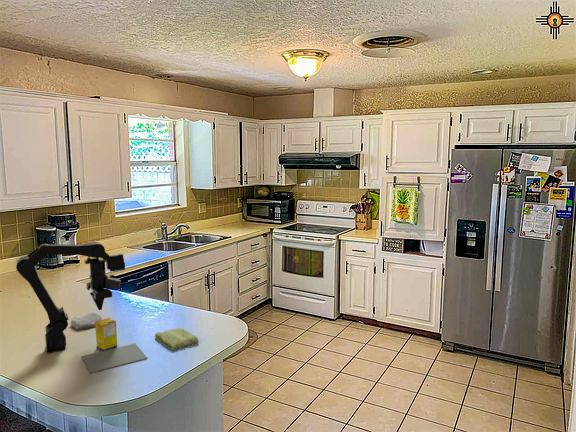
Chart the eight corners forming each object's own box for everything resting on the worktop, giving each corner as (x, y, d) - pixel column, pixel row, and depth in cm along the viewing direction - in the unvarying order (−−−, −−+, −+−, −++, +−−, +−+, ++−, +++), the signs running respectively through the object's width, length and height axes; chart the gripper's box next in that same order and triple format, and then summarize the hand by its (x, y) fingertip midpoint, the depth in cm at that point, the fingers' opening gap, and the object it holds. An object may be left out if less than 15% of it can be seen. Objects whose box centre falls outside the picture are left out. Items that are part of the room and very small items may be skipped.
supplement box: (110, 342, 178) (108, 317, 177) (117, 346, 174) (116, 320, 173) (96, 347, 173) (94, 321, 172) (103, 351, 170) (101, 324, 168)
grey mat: (90, 373, 152) (90, 372, 152) (81, 357, 165) (81, 356, 165) (147, 358, 164) (147, 357, 164) (135, 344, 177) (134, 343, 176)
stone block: (105, 327, 199) (96, 318, 206) (105, 318, 198) (96, 309, 204) (78, 336, 191) (70, 325, 198) (78, 326, 190) (69, 316, 196)
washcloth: (181, 331, 191) (181, 324, 191) (200, 344, 178) (200, 336, 177) (152, 339, 183) (152, 331, 183) (170, 353, 169) (170, 345, 169)
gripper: (124, 274, 174) (126, 312, 176) (112, 265, 190) (114, 300, 191) (94, 279, 168) (97, 317, 170) (85, 269, 183) (87, 305, 185)
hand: (100, 309), depth 179 cm, fingers closed
